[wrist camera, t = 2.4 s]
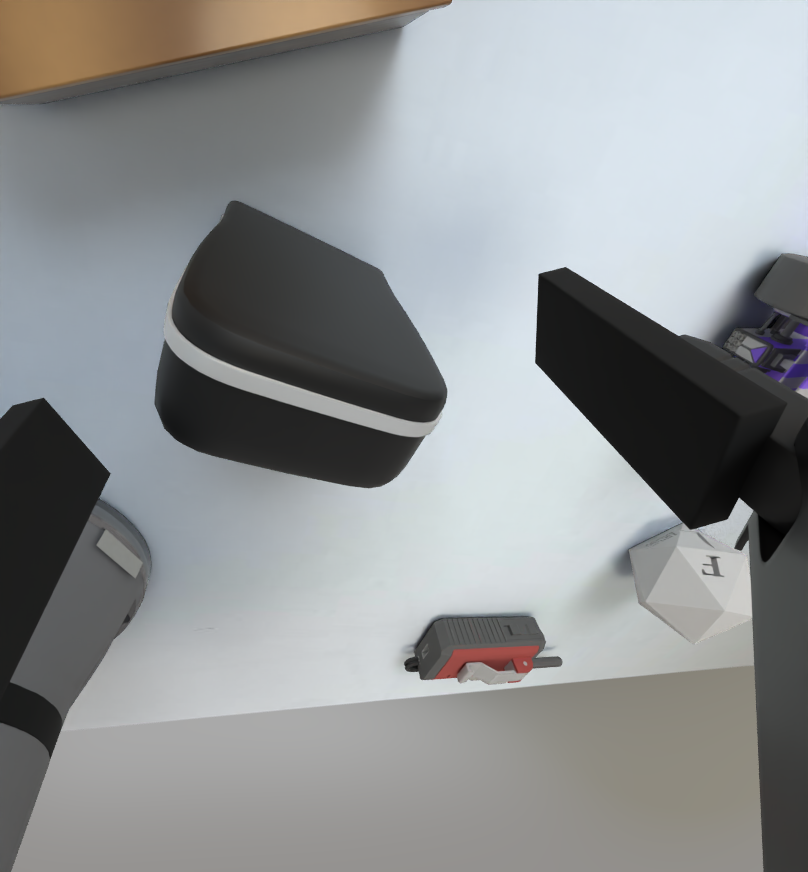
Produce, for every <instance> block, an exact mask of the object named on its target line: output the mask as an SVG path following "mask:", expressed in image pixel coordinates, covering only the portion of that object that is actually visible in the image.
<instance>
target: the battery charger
mask: <svg viewBox="0 0 808 872" xmlns="http://www.w3.org/2000/svg"><path fill="white" fill-rule="evenodd" d="M163 333H164V337H165V341H164V345H163V349H162V354H161V358H160V362H159V367H158V371H157V380H156V391H155V406H156V409H157V411H158V414H159V416H160V419H161V421H162V424H163V426H164V429H165V430H166V431H168V432H169V433H170V434H171V435H172V436H173V437H174V438H175V439H176V440H177V441H179V442H180V443H182V444H184V445H186V446H188V447H190V448H192V449H194V450H196V451H198V452H202V453H205V454H208V455H212V456H215V457H219V458H223V459H228V460H232V461H236V462H240V463H244V464H249V465H253V466H257V467H262V468H266V469H270V470H274V471H279V472H283V473H287V474H292V475H297V476H302V477H307V478H312V479H317V480H322V481H327V482H332V483H337V484H342V485H347V486H354V487H362V488H373V487H380V486H383V485H385V484H387V483H389V482H390V481H392V480H393V479H394V478H395V477H397V476H398V475H399V474H400V472H401V471H402V470H403V469H404V468H405V466H406V465H407V464H408V462H409V460H410V459H411V457H412V456H413V454H414V453H415V451H416V450H417V448H418V447H419V445H420V443H421V442H422V440H423V439H424V437H425V436H426V435H428V434H430V433H431V432H432V431H433V430H434V428H435V426H436V425H437V423H438V422H439V420H440V418H441V416H442V409H443V407H444V405H445V403H446V398H447V388H446V385H445V382H444V379H443V377H442V375H441V373H440V371H439V369H438V367H437V365H436V364H435V362H434V360H433V358H432V356H431V354H430V352H429V350H428V349H427V347H426V345H425V343H424V342H423V340H422V338H421V337H420V335H419V333H418V331H417V330H416V328H415V327H414V325H413V323H412V322H411V320H410V319H409V317H408V315H407V314H406V312H405V311H404V309H403V308H402V306H401V304H400V303H399V301H398V300H397V298H396V297H395V295H394V294H393V292H392V290H391V288H390V286H389V285H388V283H387V281H386V279H385V277H384V274H383V273H382V271H381V270H379V269H378V268H376V267H374V266H372V265H370V264H368V263H366V262H364V261H361V260H359V259H357V258H355V257H353V256H351V255H349V254H347V253H345V252H343V251H341V250H339V249H337V248H335V247H333V246H331V245H329V244H327V243H325V242H322V241H320V240H318V239H316V238H314V237H312V236H310V235H308V234H306V233H304V232H302V231H300V230H298V229H296V228H293V227H291V226H289V225H287V224H285V223H283V222H281V221H279V220H277V219H275V218H273V217H271V216H268V215H266V214H264V213H262V212H260V211H258V210H256V209H254V208H252V207H249V206H247V205H245V204H243V203H241V202H238V201H231V202H230V203H229V204H228V206H227V208H226V211H225V214H222V216H221V219H220V222H219V223H218V224H217V225H216V226H215V227H214V228H213V230H212V231H211V232H210V233H209V234H208V235H207V236H206V238H205V239H204V240H203V241H202V243H201V244H200V245H199V247H198V248H197V250H196V251H195V253H194V254H193V256H192V258H191V259H190V261H189V263H188V265H187V266H186V268H185V270H184V271H183V273H182V275H181V277H180V279H179V280H178V282H177V285H176V287H175V289H174V291H173V293H172V295H171V298H170V300H169V302H168V306H167V310H166V315H165V320H164V326H163Z"/></svg>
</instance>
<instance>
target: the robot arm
mask: <svg viewBox="0 0 808 872" xmlns="http://www.w3.org/2000/svg"><path fill="white" fill-rule="evenodd" d="M535 363H536V364H537V365H538V366H539V367H540V368H541V369H542V370H543V372H544V373H545V374H546V375H547V376H548V377H549V378H550V379H551V380H552V381H553V382H554V383H555V385H556V386H557V387H558V388H559V389H560V390H561V391H562V392H563V393H564V394H565V395H566V396H567V397H568V399H569V400H570V401H571V402H572V403H573V404H574V405H575V406H576V407H577V408H578V409H579V410H580V412H581V413H582V414H583V415H584V416H585V417H586V418H587V419H588V420H589V421H590V422H591V423H592V425H593V426H594V427H595V428H596V429H597V430H598V431H599V432H600V433H601V434H602V435H603V436H604V438H605V439H606V440H607V441H608V442H609V443H610V444H611V445H612V446H613V447H614V448H615V449H616V450H617V452H618V453H619V454H620V455H621V456H622V457H623V458H624V459H625V460H626V461H627V462H628V463H629V465H630V466H631V467H632V468H633V469H634V470H635V471H636V472H637V473H638V474H639V475H640V476H641V478H642V479H643V480H644V481H645V482H646V483H647V484H648V485H649V486H650V487H651V488H652V489H653V490H654V492H655V493H656V494H657V495H658V496H659V497H660V498H661V499H662V500H663V501H664V502H665V503H666V505H667V506H668V507H669V508H670V509H671V510H672V511H673V512H674V513H675V514H676V515H677V516H678V518H679V519H680V520H681V521H682V522H683V523H684V524H685V525H686V526H687V527H688V528H689V529H690V530H692V529H695V528H699V527H702V526H706V525H709V524H713V523H716V522H720V521H723V520H727V519H728V517H729V516H730V514H731V512H732V510H733V508H734V506H735V504H736V502H737V500H738V498H740V499H741V500H743V501H744V502H745V503H746V504H747V505H748V506H749V507H750V508H752V509H753V510H754V511H753V513H752V515H751V516H750V518H749V520H748V522H747V523H746V525H745V527H744V529H743V530H742V532H741V534H740V536H739V537H738V539H737V541H736V545H735V548H734V549H737V550H742V549H743V547H744V545H745V544H746V542H747V541H748V540H749V554H750V576H751V599H752V621H753V644H754V666H755V689H756V710H757V734H758V756H759V779H760V799H761V800H760V801H761V822H762V823H761V824H762V844H763V845H762V846H763V866H764V867H763V868H764V872H808V398H806V397H804V396H803V395H801V394H799V393H797V392H796V391H794V390H792V389H791V388H789V387H787V386H785V385H784V384H782V383H780V382H778V381H777V380H775V379H773V378H772V377H770V376H768V375H766V374H765V373H763V372H761V371H759V370H758V369H756V368H750V366H749V364H747V363H746V362H744V361H742V360H741V359H739V358H737V357H735V358H733V357H732V354H730V353H728V352H727V351H725V350H723V349H722V348H720V347H718V346H716V345H715V344H713V343H711V342H708V341H704V340H701V339H698V338H694V337H691V336H688V335H681V336H677V335H676V334H674V333H672V332H671V331H669V330H668V329H666V328H664V327H663V326H661V325H659V324H658V323H656V322H655V321H653V320H651V319H650V318H648V317H646V316H645V315H643V314H641V313H640V312H638V311H637V310H635V309H633V308H632V307H630V306H628V305H627V304H625V303H623V302H622V301H620V300H619V299H617V298H615V297H614V296H612V295H610V294H609V293H607V292H606V291H604V290H602V289H601V288H599V287H597V286H596V285H594V284H592V283H591V282H589V281H588V280H586V279H584V278H583V277H581V276H579V275H578V274H576V273H574V272H573V271H571V270H570V269H568V268H566V267H564V268H560V269H556V270H552V271H548V272H544V273H540V274H539V279H538V305H537V331H536V357H535ZM109 476H110V473H109V471H108V470H107V469H106V468H105V467H104V466H103V465H102V463H101V462H100V461H99V460H98V459H97V458H96V457H95V455H94V454H93V453H92V452H91V451H90V450H89V449H88V448H87V446H86V445H85V444H84V443H83V442H82V441H81V440H80V438H79V437H78V436H77V435H76V434H75V433H74V432H73V430H72V429H71V428H70V427H69V426H68V425H67V424H66V423H65V421H64V420H63V419H62V418H61V417H60V416H59V415H58V413H57V412H56V411H55V410H54V409H53V408H52V407H51V405H50V404H49V403H48V402H47V401H46V400H45V399H44V398H41V399H37V400H33V401H29V402H25V403H21V404H17V405H13V406H12V407H11V408H10V409H9V410H8V411H7V412H6V414H5V415H4V416H3V417H2V418H1V419H0V872H11V870H12V867H13V864H14V862H15V859H16V856H17V853H18V850H19V847H20V845H21V842H22V839H23V836H24V833H25V830H26V827H27V825H28V822H29V819H30V816H31V814H32V811H33V808H34V805H35V802H36V799H37V796H38V793H39V791H40V788H41V785H42V782H43V780H44V777H45V774H46V771H47V768H48V765H49V761H50V759H51V756H52V753H53V750H54V748H55V745H56V742H57V739H58V736H59V733H60V731H61V728H62V726H63V723H64V720H65V718H66V715H67V713H68V711H69V709H70V707H71V706H72V704H73V703H74V701H75V700H76V698H77V697H78V695H79V694H80V693H81V691H82V690H83V688H84V687H85V685H86V684H87V682H88V681H89V679H90V678H91V676H92V675H93V673H94V672H95V670H96V669H97V667H98V666H99V664H100V662H101V661H102V659H103V658H104V656H105V654H106V652H107V651H108V649H109V647H110V645H111V643H112V641H113V639H115V638H116V637H117V636H118V635H119V634H120V633H121V632H123V630H124V629H125V628H126V627H127V626H128V624H129V623H130V621H131V620H132V619H133V617H134V616H135V614H136V612H137V610H138V608H139V607H140V605H141V603H142V601H143V598H144V594H145V591H146V587H147V584H148V580H149V577H150V573H151V556H150V553H149V549H148V547H147V545H146V543H145V541H144V539H143V537H142V536H141V534H140V533H139V532H138V530H137V529H136V528H135V527H134V526H133V525H132V524H131V523H130V522H129V521H128V520H127V519H126V518H125V517H124V516H123V515H122V514H120V513H119V512H118V511H117V510H115V509H114V508H112V507H111V506H109V505H108V504H106V503H105V502H103V501H102V500H100V499H99V496H100V494H101V492H102V490H103V488H104V486H105V484H106V482H107V480H108V478H109Z"/></svg>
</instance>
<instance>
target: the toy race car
mask: <svg viewBox="0 0 808 872" xmlns="http://www.w3.org/2000/svg"><path fill="white" fill-rule="evenodd" d="M754 295H755V297H756V298H758V299H759V300H760V301H762V302H764V303H765V304H767V305H769V306H772V307H774V308H773V310H774V311H775V312H774V314H773V315H772V316H771V318H770V319H769V320H768V321H767V322H766V323H765V324H764V325H763V326H762V327H761V328H760V329H758V328H735V330H734V331H733V333H732V334H731V335H730V337H729V338H728V340H727V341H726V343H725V344H724V346H723V348H724V349H725V350H727V351H729V352H730V353H732V354H734V355H736V356H737V358H739V359H741V360H742V361H746V363H747V364H749V366H750V368H756V369H758V370H759V371H761V372H763V373H765V374H766V375H768V376H770V377H772V378H773V379H775V380H777V381H778V382H780V383H782V384H784V385H785V386H787V387H789V388H791V389H792V390H794V391H796V392H797V393H799V394H801V395H803V396H804V397H806V398H808V257H805V256H801V255H796V254H782V255H781V256H780V257H779V258H778V260H777V261H776V263H775V264H774V266H773V267H772V269H771V270H770V272H769V273H768V274H767V276H766V277H765V279H764V280H763V282H762V283H761V285H760V286H759V288H758V289H757V291H756V292H755V294H754ZM778 314H781V315H780V317H779V318H778V319H777V321H776V322H775V323H774V325H773V326H772V327H771V329H766V328H767V327H768V326H769V324H770V323H771V322H772V321H773V320H774V319H775V317H776V316H777V315H778Z"/></svg>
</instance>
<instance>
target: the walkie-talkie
mask: <svg viewBox="0 0 808 872" xmlns="http://www.w3.org/2000/svg"><path fill="white" fill-rule="evenodd" d="M545 643H546V641H545V638H544V635H543V633H542V632H541V630H540V629H539V627H538V625H537V622H536V620H535V619H534V618H533V617H498V618H447V619H441V620H438V621H436V622H434V623H433V625H432V626H431V628H430V629H429V631H428V632H427V634H426V635H425V637H424V638H423V640H422V641H421V643H420V644H419V646H418V647H417V649H416V650H415V652H414V653H415V657H412V658H409V659H407V660H406V661H405V662H404V665H405V670H406V671H408V672H419V674H420V679H421V680H433V679H446V678H457V679H458V682H459V683H464V682H466V681H467V680H468V679H469V680H471V681H473V680H481V681H483V682H484V683H486V684H488V685H491V684H502V683H506V682H508V683H514V682H520V681H521V680H522V679H523V678H524V677H525V676H526V675H527V674H528V673H529V672H530V671H531V670H532V668H546V667H559V666H561V665H562V659H561V658H560V657H558V656H557V657H540V658H535V657H536V656H537V655H538V654H539V653H540V652H541V651H542V650H543V649H544V647H545Z"/></svg>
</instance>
